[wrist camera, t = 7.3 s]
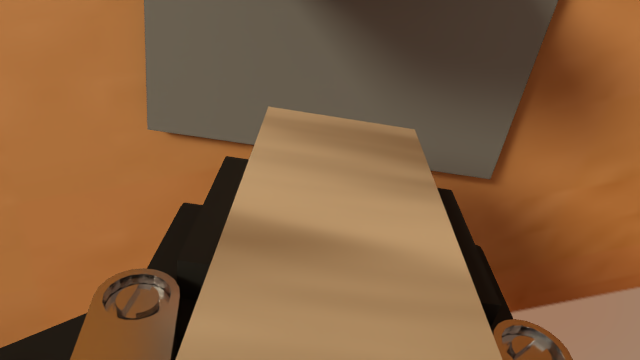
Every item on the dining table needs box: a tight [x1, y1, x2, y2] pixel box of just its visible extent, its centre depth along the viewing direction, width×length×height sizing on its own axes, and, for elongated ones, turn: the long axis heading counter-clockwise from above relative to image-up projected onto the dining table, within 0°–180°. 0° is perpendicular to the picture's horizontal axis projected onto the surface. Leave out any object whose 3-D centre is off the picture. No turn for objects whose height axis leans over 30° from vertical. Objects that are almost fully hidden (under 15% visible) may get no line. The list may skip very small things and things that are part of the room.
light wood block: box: [176, 106, 502, 360], centre depth 9 cm, size 4×4×11 cm
